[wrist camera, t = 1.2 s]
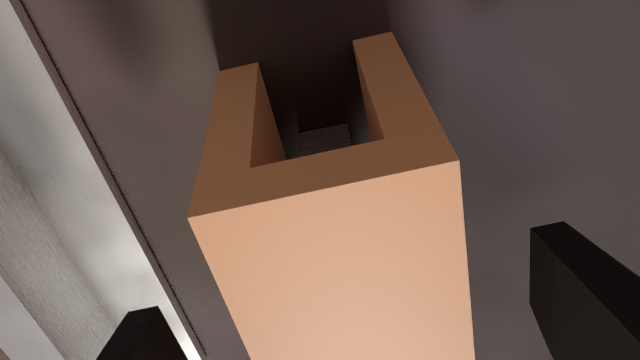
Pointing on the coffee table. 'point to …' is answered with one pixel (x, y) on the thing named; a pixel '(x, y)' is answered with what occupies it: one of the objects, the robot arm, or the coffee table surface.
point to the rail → (63, 220)
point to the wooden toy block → (324, 139)
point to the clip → (337, 225)
